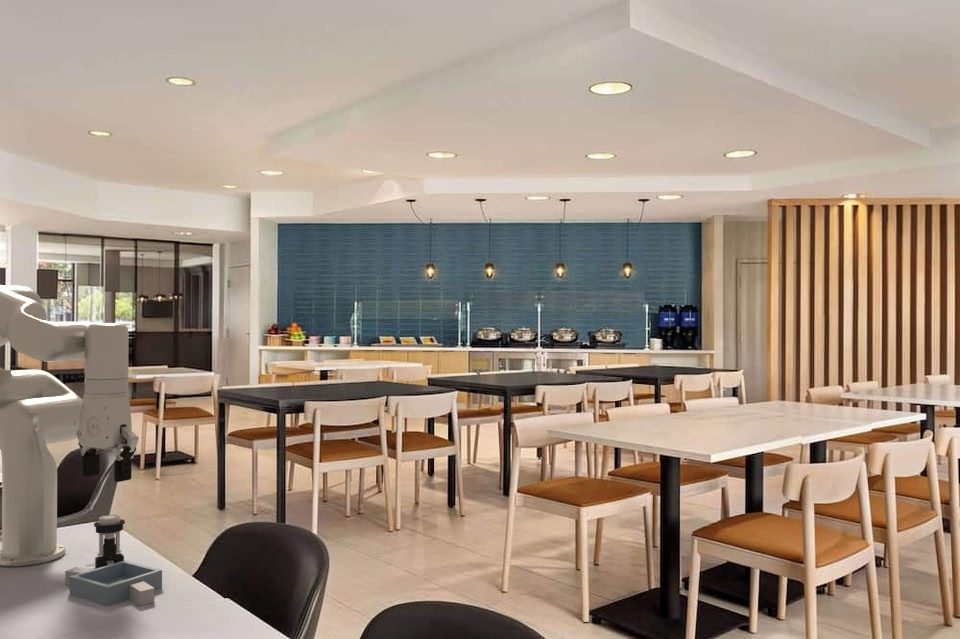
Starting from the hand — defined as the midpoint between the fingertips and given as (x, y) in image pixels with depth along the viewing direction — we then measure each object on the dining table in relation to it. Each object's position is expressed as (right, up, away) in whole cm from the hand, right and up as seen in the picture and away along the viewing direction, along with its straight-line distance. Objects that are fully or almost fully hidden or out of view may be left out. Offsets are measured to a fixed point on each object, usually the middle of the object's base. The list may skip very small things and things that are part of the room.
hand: (106, 478), depth 149 cm
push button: (0, -18, 0) cm, 18 cm away
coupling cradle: (+7, -18, -11) cm, 22 cm away
